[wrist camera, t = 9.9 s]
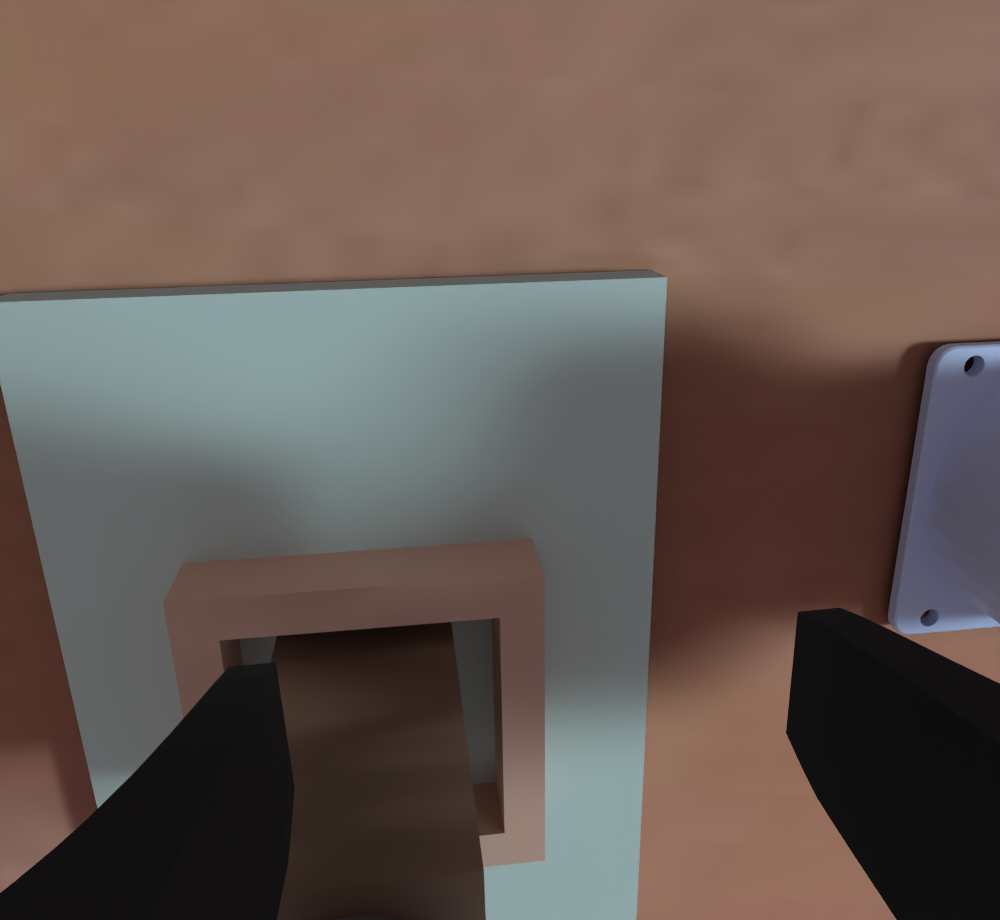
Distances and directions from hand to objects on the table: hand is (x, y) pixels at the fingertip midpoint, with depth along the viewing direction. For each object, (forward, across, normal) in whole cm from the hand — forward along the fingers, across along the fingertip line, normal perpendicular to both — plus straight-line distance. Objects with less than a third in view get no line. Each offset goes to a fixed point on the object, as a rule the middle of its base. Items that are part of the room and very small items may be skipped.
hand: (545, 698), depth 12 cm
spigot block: (+8, +3, +5) cm, 10 cm away
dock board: (+10, +3, +6) cm, 11 cm away
